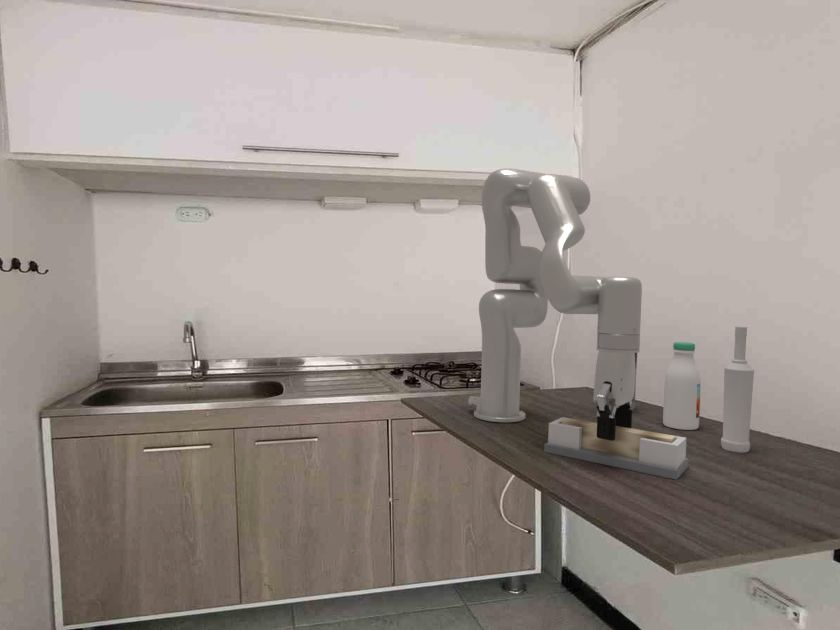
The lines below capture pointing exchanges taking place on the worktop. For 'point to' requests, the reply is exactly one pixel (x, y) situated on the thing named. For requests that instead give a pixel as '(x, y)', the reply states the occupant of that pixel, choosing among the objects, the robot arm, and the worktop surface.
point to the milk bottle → (682, 389)
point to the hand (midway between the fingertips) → (614, 433)
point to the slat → (624, 438)
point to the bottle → (737, 398)
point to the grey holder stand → (651, 459)
